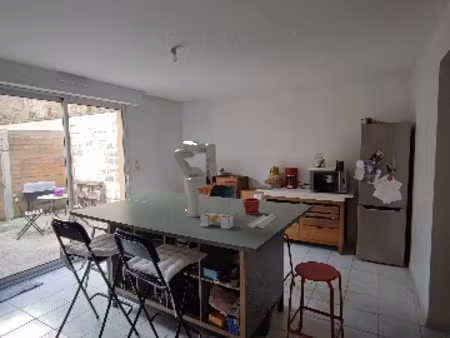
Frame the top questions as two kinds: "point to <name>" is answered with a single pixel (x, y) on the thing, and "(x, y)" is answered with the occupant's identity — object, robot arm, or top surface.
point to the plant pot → (251, 206)
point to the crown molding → (262, 221)
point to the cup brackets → (225, 221)
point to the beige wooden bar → (215, 217)
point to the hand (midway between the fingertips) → (211, 183)
